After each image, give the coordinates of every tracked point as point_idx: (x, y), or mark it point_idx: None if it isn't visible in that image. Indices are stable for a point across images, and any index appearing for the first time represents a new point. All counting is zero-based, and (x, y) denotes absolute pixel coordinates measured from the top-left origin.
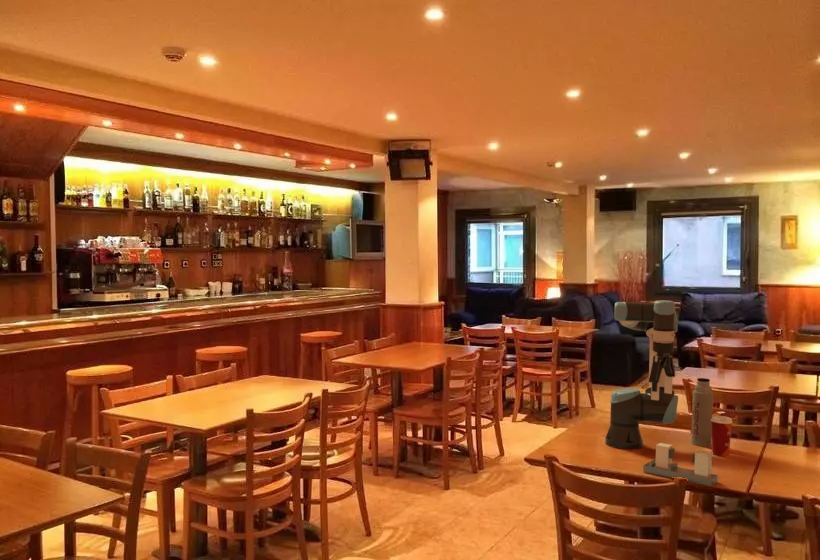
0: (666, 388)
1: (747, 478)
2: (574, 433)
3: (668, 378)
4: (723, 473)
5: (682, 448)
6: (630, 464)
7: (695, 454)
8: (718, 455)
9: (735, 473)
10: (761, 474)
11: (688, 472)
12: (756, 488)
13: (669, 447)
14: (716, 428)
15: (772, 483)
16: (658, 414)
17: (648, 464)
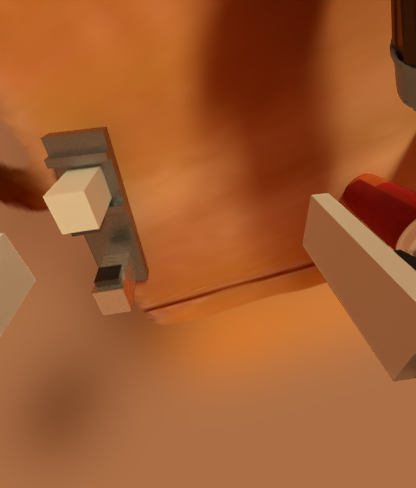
0: (328, 234)
1: (216, 285)
2: None
3: (396, 336)
4: (214, 253)
5: (379, 90)
6: (75, 53)
7: (93, 290)
8: (344, 194)
9: (232, 264)
10: (258, 288)
11: (107, 242)
12: (172, 311)
13: (73, 231)
14: (390, 223)
15: (219, 312)
16: (399, 21)
17: (65, 144)
